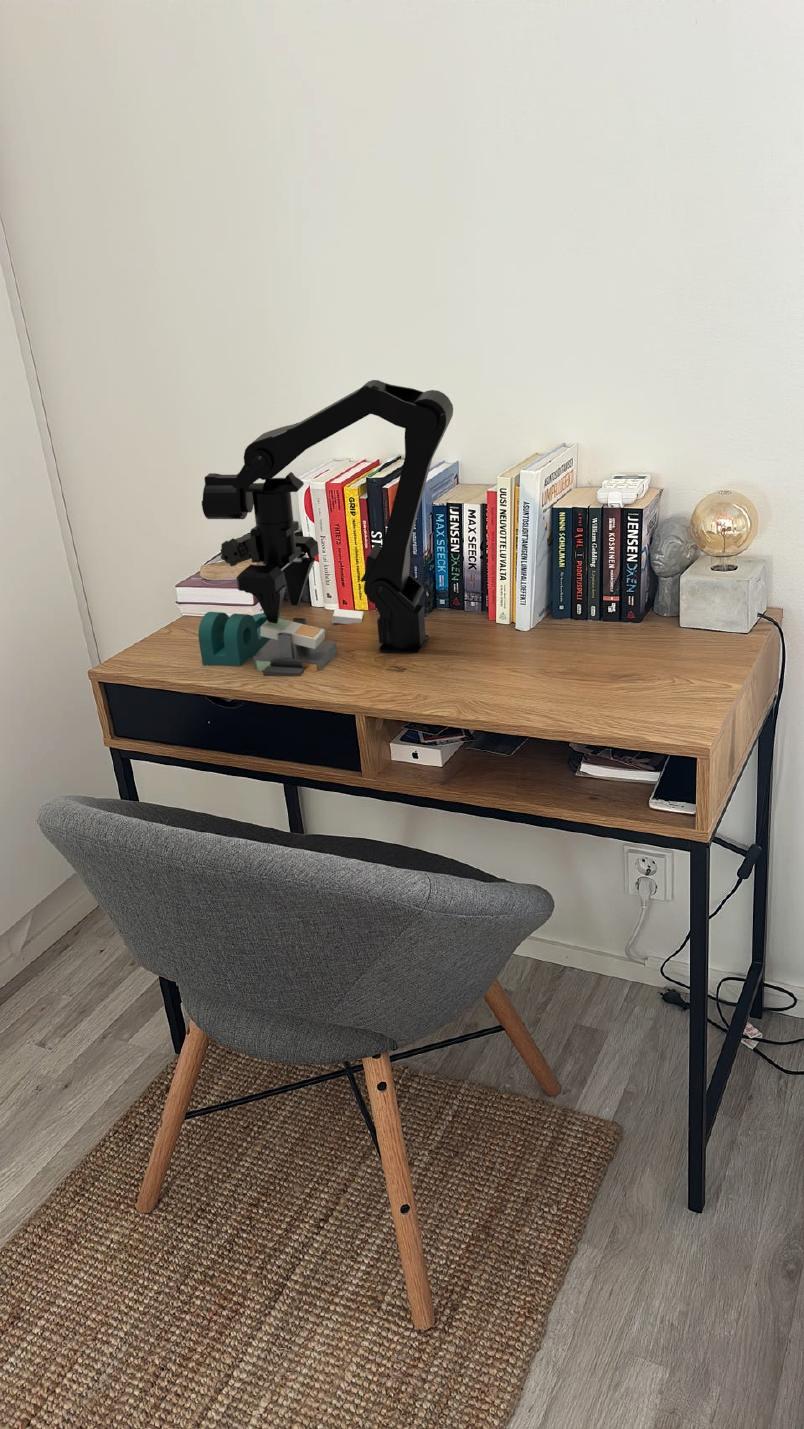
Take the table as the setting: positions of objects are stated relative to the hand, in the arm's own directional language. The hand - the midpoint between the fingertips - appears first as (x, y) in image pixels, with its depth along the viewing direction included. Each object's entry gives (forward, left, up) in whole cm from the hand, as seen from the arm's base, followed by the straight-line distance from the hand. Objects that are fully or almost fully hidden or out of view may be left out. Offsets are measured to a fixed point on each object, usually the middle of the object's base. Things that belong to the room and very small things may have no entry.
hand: (284, 615), depth 182 cm
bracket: (+8, -2, -7) cm, 11 cm away
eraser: (-3, -11, -7) cm, 14 cm away
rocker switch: (-3, +5, -1) cm, 6 cm away
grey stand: (-3, +5, -7) cm, 9 cm away
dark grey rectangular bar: (-3, +10, -7) cm, 12 cm away
